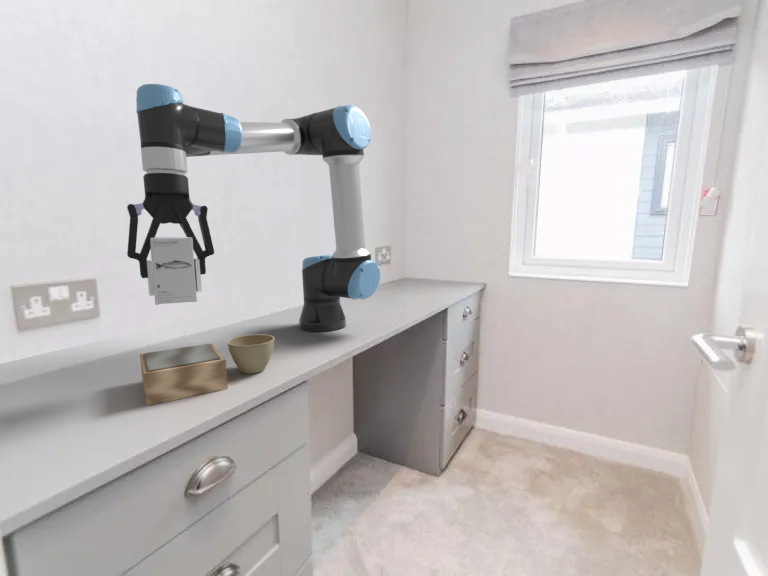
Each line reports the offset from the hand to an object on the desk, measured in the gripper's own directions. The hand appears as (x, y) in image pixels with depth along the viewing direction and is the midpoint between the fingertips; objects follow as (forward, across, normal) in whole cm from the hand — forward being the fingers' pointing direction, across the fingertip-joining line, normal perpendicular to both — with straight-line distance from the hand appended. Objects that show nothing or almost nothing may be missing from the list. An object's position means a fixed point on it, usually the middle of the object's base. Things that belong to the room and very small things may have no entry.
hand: (175, 292), depth 80 cm
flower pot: (+19, -14, -1) cm, 24 cm away
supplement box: (+2, 0, 0) cm, 2 cm away
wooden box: (+19, 0, 0) cm, 19 cm away
